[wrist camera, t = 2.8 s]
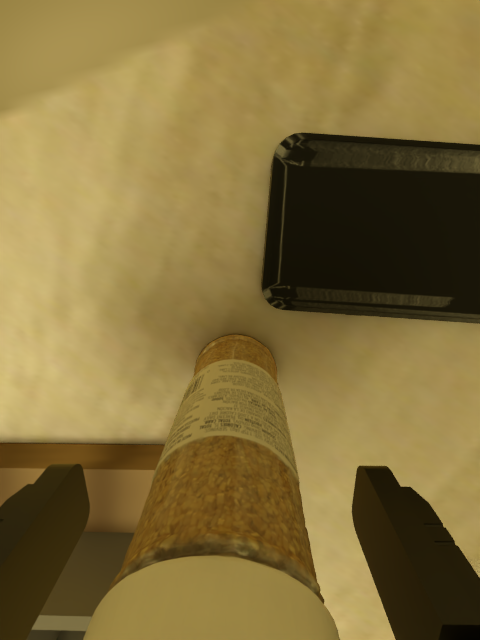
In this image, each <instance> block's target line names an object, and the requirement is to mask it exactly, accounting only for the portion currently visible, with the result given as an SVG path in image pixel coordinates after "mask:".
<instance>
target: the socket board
mask: <svg viewBox="0 0 480 640" xmlns="http://www.w3.org/2000/svg"><path fill="white" fill-rule="evenodd" d="M164 447H165V445H117V444H27V443H0V507H1V505H2V504H3V503H4V502H5V501H6V500H7V499H8V498H10V497H11V496H12V495H14V494H15V493H16V492H18V491H19V490H20V489H22V488H23V487H24V486H26V485H27V484H34V483H35V481H36V480H37V479H38V478H39V477H40V475H41V474H42V473H43V472H44V470H45V469H46V468H47V467H48V466H49V465H51V464H80V465H81V466H82V467H83V471H84V476H85V481H86V487H87V492H88V497H89V502H90V512H89V518H88V522H87V525H86V527H85V529H84V531H83V532H119V533H135V530H136V528H137V525H138V522H139V519H140V517H141V514H142V511H143V508H144V505H145V502H146V499H147V497H148V495H149V492H150V489H151V483H152V479H153V476H154V472H155V470H156V467H157V465H158V462H159V460H160V457H161V454H162V452H163V449H164Z"/></svg>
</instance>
